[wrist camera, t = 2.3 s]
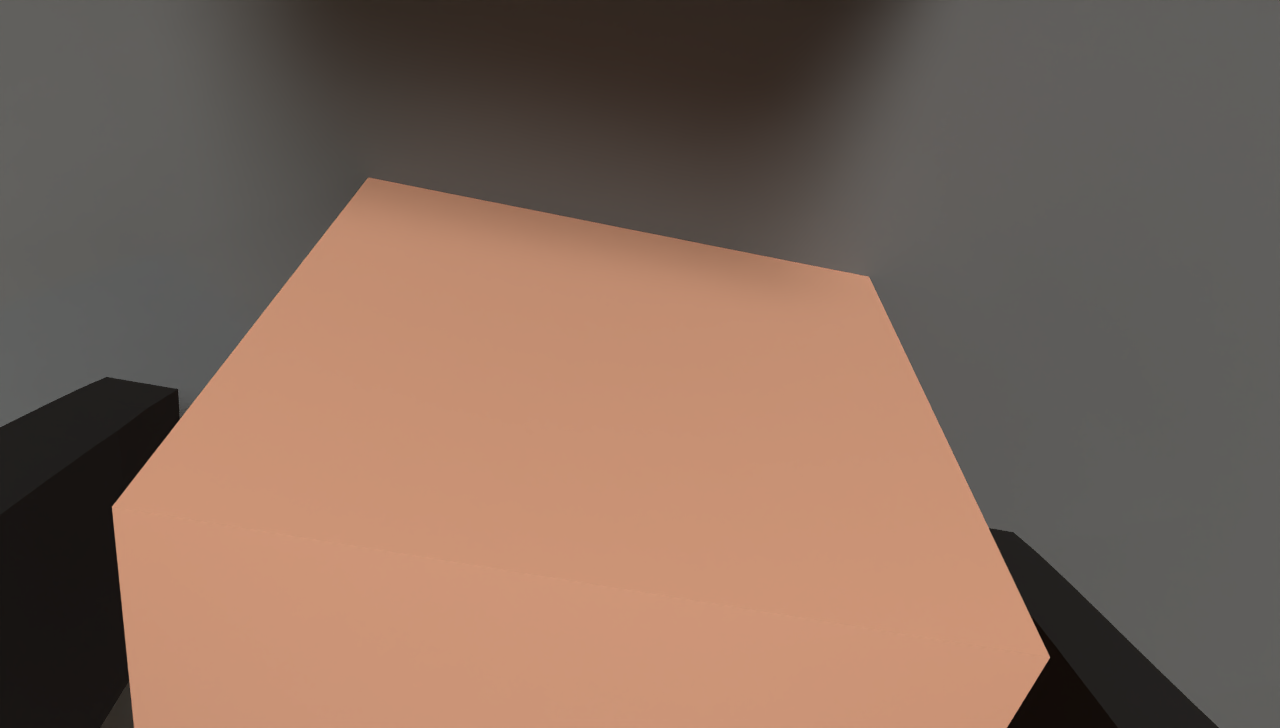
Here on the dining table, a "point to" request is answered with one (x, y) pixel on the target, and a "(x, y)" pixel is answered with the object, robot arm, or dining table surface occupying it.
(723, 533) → the terracotta block
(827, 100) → the dining table surface
